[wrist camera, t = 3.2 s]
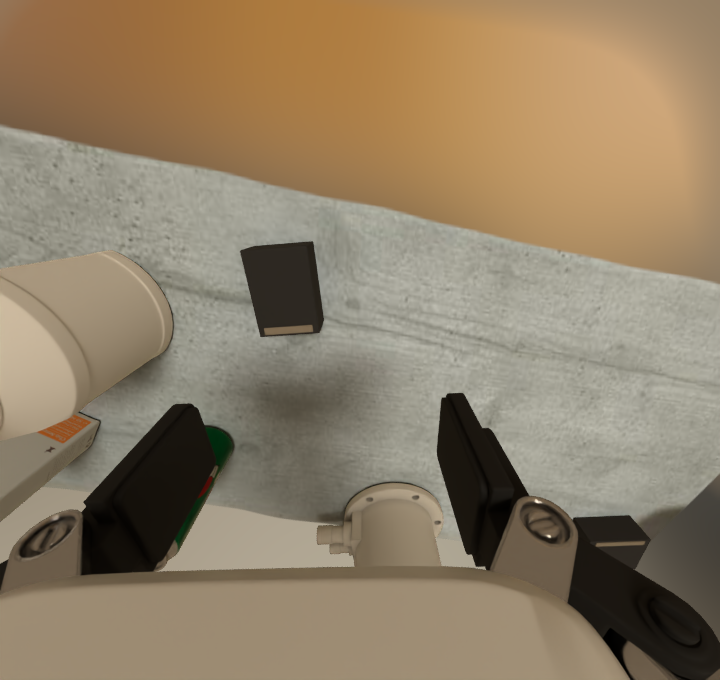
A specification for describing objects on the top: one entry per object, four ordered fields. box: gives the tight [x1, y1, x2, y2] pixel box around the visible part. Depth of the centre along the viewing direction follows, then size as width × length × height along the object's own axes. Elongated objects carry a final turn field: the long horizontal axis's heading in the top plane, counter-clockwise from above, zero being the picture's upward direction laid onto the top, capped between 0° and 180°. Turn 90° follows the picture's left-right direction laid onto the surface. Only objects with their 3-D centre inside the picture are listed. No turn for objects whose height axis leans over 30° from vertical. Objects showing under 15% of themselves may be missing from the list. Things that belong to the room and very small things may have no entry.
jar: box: [0, 250, 173, 441], centre depth 20 cm, size 12×10×15 cm
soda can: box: [153, 427, 233, 572], centre depth 27 cm, size 5×5×12 cm
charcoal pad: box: [573, 516, 651, 569], centre depth 37 cm, size 7×6×3 cm
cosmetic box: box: [0, 412, 100, 522], centre depth 26 cm, size 6×4×12 cm
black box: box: [240, 241, 324, 337], centre depth 24 cm, size 5×7×3 cm
